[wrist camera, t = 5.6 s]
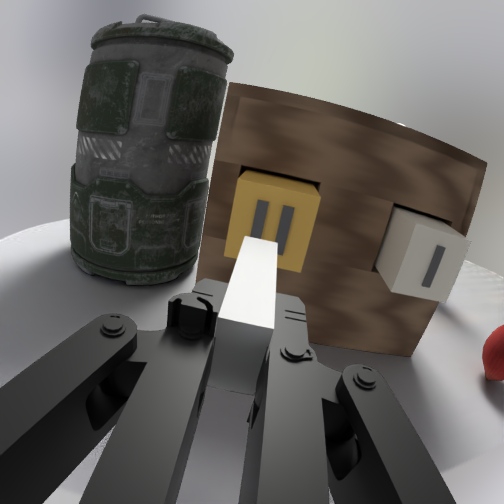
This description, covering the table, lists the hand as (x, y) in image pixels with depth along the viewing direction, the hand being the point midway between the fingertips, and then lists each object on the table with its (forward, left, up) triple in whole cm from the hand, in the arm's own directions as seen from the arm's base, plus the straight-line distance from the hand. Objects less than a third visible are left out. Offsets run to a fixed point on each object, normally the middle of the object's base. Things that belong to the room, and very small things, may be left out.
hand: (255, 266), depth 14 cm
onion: (-28, -7, -11) cm, 31 cm away
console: (-6, -14, -11) cm, 19 cm away
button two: (0, -8, -2) cm, 9 cm away
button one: (-12, -8, -2) cm, 15 cm away
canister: (+14, -19, -11) cm, 26 cm away
